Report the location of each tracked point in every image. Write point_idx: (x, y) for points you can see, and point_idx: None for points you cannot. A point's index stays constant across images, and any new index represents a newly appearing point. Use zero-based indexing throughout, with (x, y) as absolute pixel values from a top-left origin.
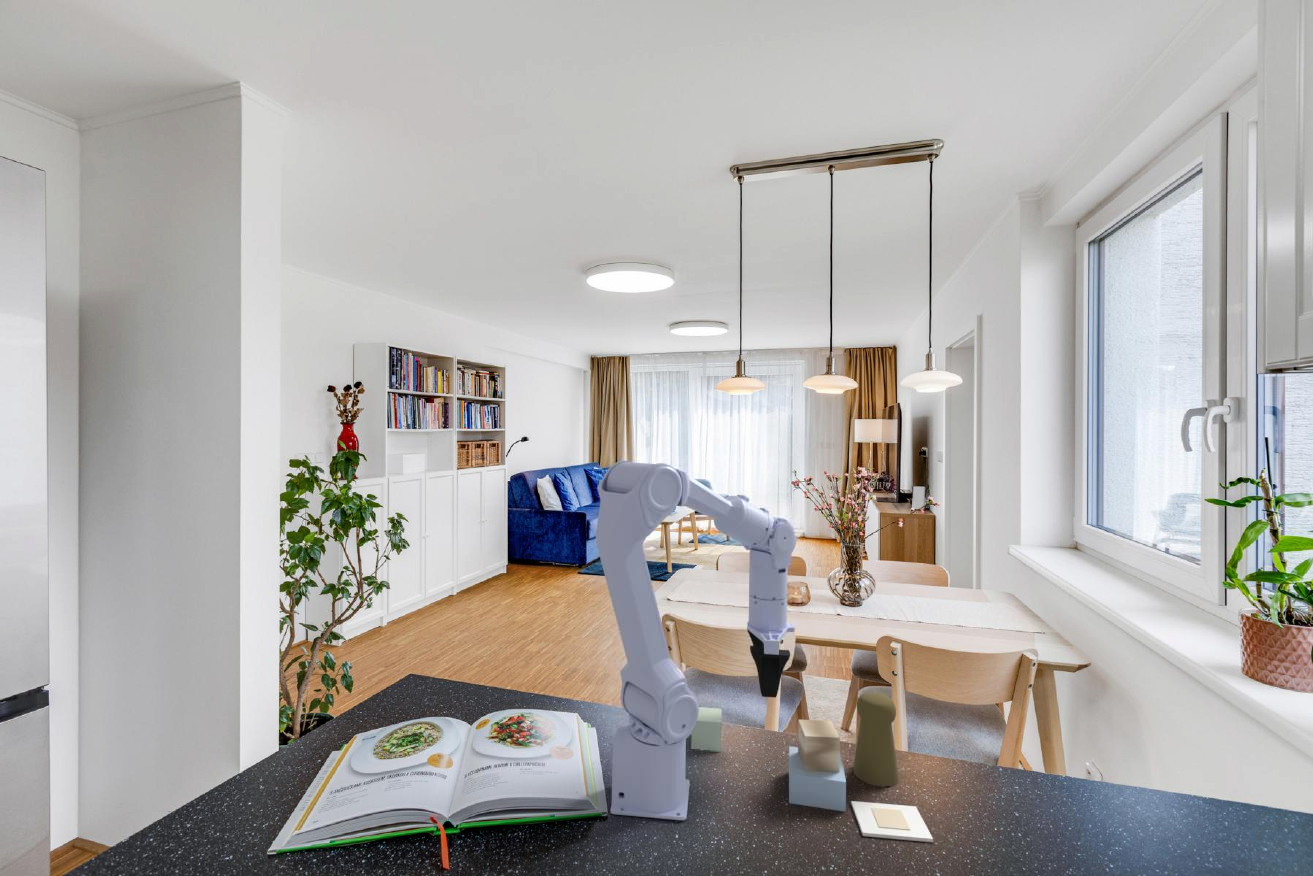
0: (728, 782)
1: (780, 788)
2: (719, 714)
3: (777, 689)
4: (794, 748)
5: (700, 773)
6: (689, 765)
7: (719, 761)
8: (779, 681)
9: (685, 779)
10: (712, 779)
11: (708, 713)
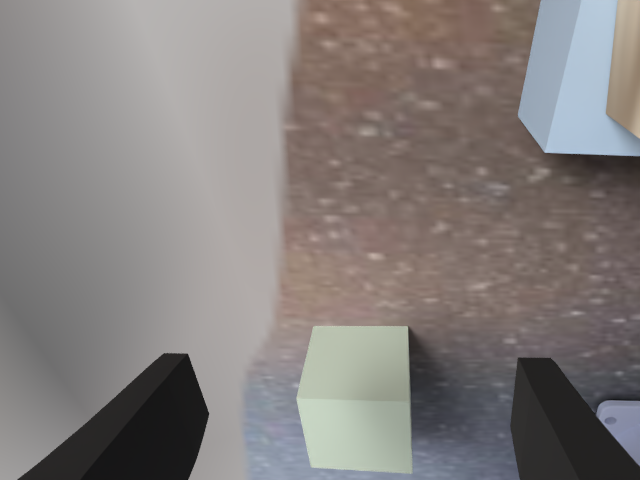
0: (589, 308)
1: None
2: (345, 405)
3: (582, 402)
4: (563, 128)
5: None
6: (498, 396)
7: (466, 330)
8: (636, 463)
9: (604, 415)
10: (572, 346)
11: (349, 433)
